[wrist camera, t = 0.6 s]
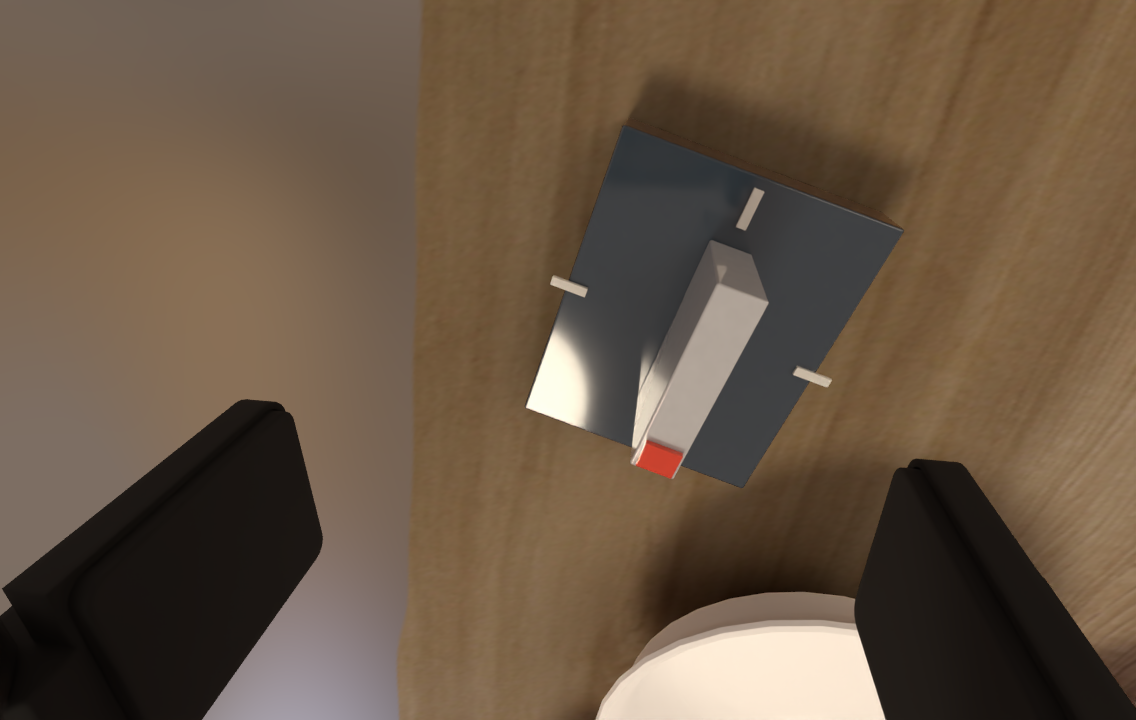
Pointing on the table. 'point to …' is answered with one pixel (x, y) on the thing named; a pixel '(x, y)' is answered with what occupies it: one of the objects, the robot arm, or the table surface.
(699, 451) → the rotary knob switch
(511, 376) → the table surface
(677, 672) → the bowl
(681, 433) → the grey block
